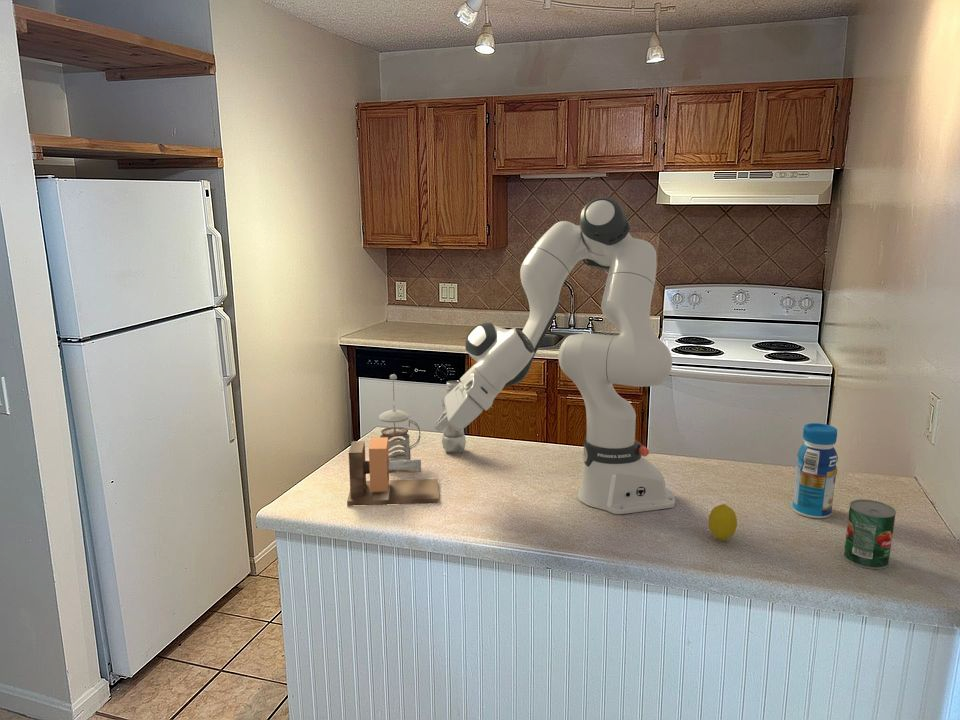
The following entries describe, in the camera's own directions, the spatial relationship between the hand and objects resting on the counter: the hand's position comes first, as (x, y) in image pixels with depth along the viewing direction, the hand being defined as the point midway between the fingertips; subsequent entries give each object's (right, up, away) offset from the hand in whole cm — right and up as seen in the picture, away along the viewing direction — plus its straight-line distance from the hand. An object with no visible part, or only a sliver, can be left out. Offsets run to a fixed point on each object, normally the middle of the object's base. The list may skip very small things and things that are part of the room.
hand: (436, 428), depth 167 cm
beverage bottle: (+85, -18, -6) cm, 87 cm away
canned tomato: (+86, -23, -27) cm, 93 cm away
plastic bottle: (+3, -10, +33) cm, 35 cm away
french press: (-11, -12, +22) cm, 28 cm away
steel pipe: (-11, -11, +2) cm, 16 cm away
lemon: (+60, -21, -19) cm, 67 cm away
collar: (-14, -14, +3) cm, 20 cm away
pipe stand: (-10, -16, +4) cm, 19 cm away
